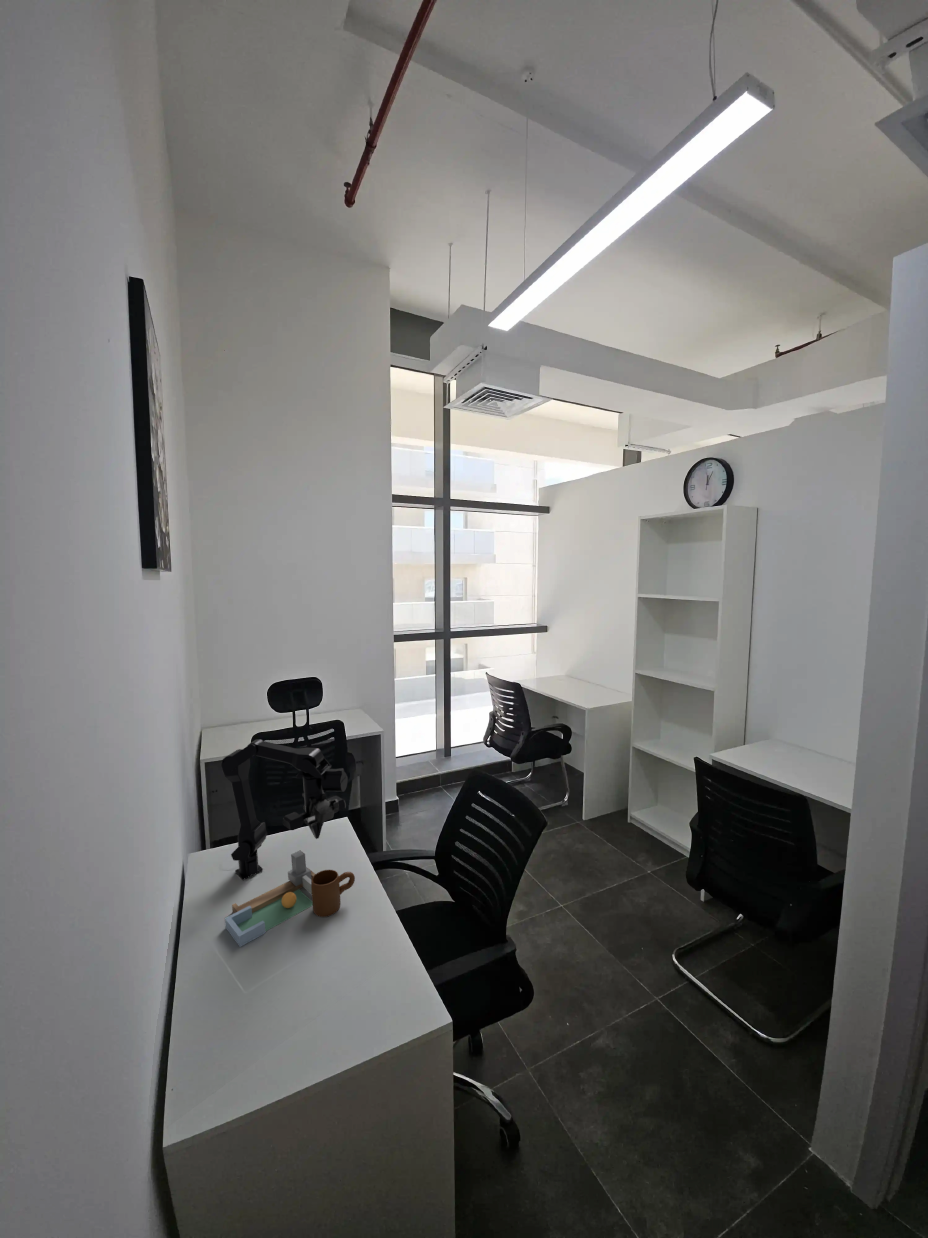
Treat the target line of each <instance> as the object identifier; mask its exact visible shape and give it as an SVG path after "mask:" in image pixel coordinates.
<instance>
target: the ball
mask: <svg viewBox="0 0 928 1238" xmlns="http://www.w3.org/2000/svg"><path fill="white" fill-rule="evenodd" d="M295 903H296V895H295V894H294V893H293V892H288V893H286V894H285V895H284V896H283V897H282V905H283V907H285V908H291V907H293V906H294V904H295Z"/></svg>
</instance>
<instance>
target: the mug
mask: <svg viewBox="0 0 928 1238" xmlns="http://www.w3.org/2000/svg"><path fill="white" fill-rule="evenodd" d="M347 878H349V879H348V881H347V882H346V883H343V884H341V885H340V883H341V882H343V881H344V880H346V879H347ZM355 879H356V877H355V874H354V873H353V872H352V871H344V872H343V873H342V874H340V875H339V872H338V871H336V870H334V869H324V870H320V871H319V872H317V873H316V872H315V875H314V876H313V877H312V880H311V890H312V894H311V901H312V903H313V906H312V910H313V913H314V914H315V916H317V917H321V918H324V917H326V918H327V917H329V916H332V915H334V914H335V913H337V912H338V910H340V907H341V895H342V894H343V893H344V892H345V891H347V890H349V889H351V887H352V886H354V884H355Z"/></svg>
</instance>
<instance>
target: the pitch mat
mask: <svg viewBox="0 0 928 1238" xmlns="http://www.w3.org/2000/svg"><path fill="white" fill-rule="evenodd" d="M293 893H294V894H295V895H296V903H295V904H294V906H293V907H291V908H285V907H283V905H282V898H280V899H278V900H276V901H274V902H273V903H271V904H269V905H267V906H265V907H263V908H261V909H259V910H257V911H255V912H253V913H252V917H251V918H249V919H248V920H246V921H244V922H242V923H240V924H238V925H237V926H238V927H239V928H240V930H241V931H244V930H246V929H248V928H250V927H252V926H254V925H256V924H257V923H259V922H261V921H264V922H265V931H266V932H267V931H269V930H271V929H273V928H274V927H277V926H279V925H280V924H281V923H284V922H286V921H288V920H289V919H291V918H292V917H294V916H296V915H298V914H300V913H302V912H303V911H305V910H307V909H308V908H311V907H313V903H312V899H311V898H309V897H308V895H306V894H305V893H304V892H303V891H302V890H301V889H298V890H296V891H294V892H293Z"/></svg>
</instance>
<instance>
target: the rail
mask: <svg viewBox="0 0 928 1238" xmlns="http://www.w3.org/2000/svg"><path fill="white" fill-rule="evenodd" d="M307 868H308V869H309V870H311V869H310V868H309V867H307ZM315 874H316V872H314V871H312V870H311V880H312V877H313V876H314V875H315ZM302 888H304V887H303V883H301V884H300V885H298V886H295V885H294V884H293V883H292V882H291V881H290V880H288V881H286V882H284V883H283V884H280V885H278V886H276V887H274V888H272V889H270V890H269V891H266V892H264V893H262V894H260V895H258V896H256V897H254V898H252V899H249V900H248V901H246V902H243V903H242V904H240V905H238V904H237V903H236V902H235V903H232V904H231V911H232V914H234V913H236V912H238V911H240V910H242V909H244V908H246V907H248V906H251V908H252V913H253V912H255V911H257V910H259V909H261V908H263V907H265V906H267V905H269V904H271V903H273V902H274V901H276V900H278V899H280V898H282V897H283V896H284V895H285V894H286V893H288V892H294V891H296V890H298V889H299V890H301V889H302Z"/></svg>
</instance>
